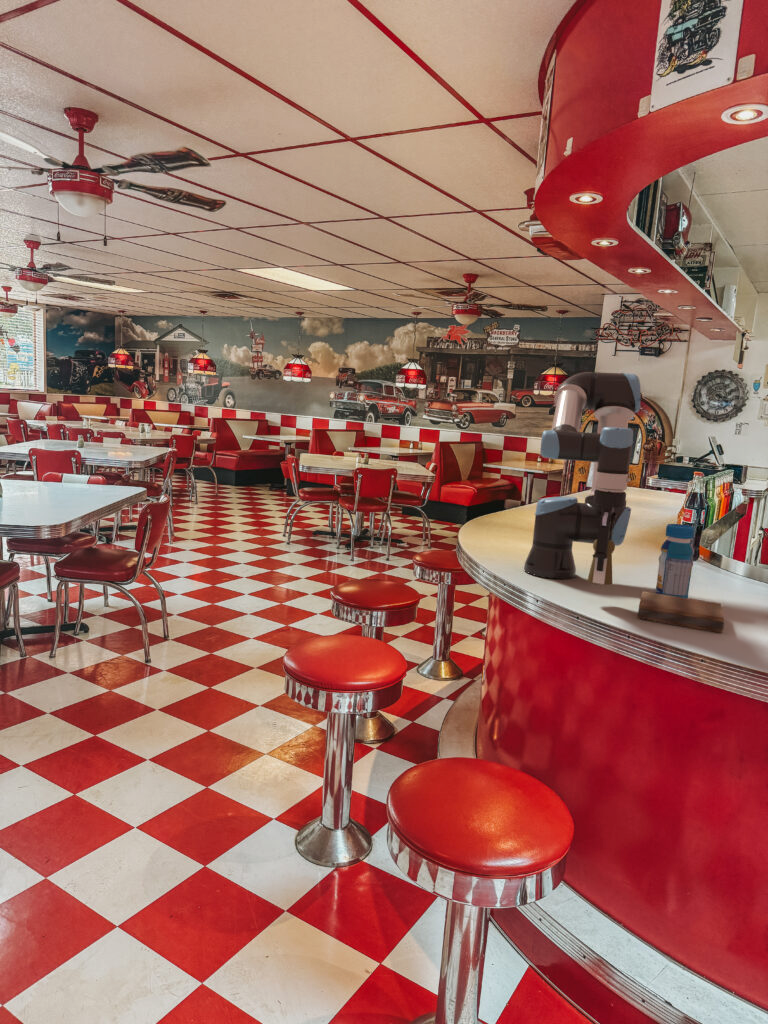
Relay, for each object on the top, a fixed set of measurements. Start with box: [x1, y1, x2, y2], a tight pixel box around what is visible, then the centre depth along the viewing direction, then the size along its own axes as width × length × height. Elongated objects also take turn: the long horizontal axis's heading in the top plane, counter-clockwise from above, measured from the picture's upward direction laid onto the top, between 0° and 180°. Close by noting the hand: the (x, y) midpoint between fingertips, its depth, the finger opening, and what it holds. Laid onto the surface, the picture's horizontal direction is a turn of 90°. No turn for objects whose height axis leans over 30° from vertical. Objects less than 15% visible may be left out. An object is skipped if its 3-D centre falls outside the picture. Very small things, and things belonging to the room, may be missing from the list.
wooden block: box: [637, 591, 725, 634], centre depth 155 cm, size 18×15×4 cm
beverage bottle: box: [654, 523, 695, 599], centre depth 172 cm, size 8×8×20 cm
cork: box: [587, 539, 616, 586], centre depth 162 cm, size 6×6×11 cm
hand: (600, 580), depth 163 cm, fingers closed on cork, 6 cm apart
